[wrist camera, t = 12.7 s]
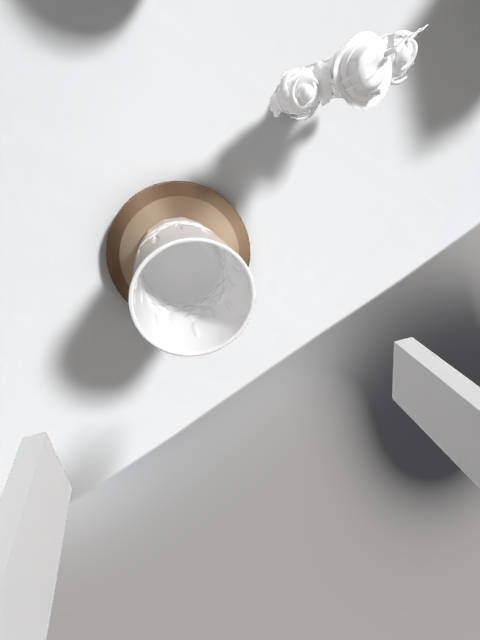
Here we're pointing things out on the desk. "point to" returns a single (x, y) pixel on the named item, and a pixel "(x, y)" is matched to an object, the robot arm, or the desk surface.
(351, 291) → the desk surface
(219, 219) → the coaster
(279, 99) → the flower shoulder figurine
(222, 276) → the white cup
